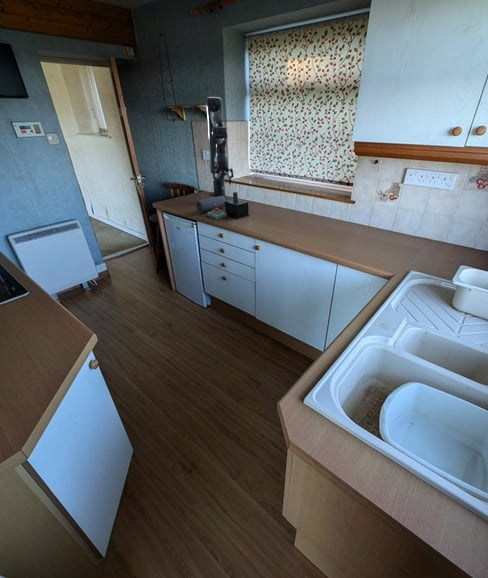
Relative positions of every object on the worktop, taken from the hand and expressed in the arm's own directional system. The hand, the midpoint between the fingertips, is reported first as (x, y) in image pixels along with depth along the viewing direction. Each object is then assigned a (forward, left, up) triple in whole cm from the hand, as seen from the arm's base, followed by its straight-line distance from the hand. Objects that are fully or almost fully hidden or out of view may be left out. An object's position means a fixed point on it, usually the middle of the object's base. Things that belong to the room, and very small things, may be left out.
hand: (223, 184), depth 208 cm
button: (-2, -7, -18) cm, 20 cm away
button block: (-2, -7, -22) cm, 23 cm away
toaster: (+7, +5, -22) cm, 24 cm away
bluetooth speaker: (-15, -2, -22) cm, 27 cm away
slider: (+2, +8, -11) cm, 14 cm away
